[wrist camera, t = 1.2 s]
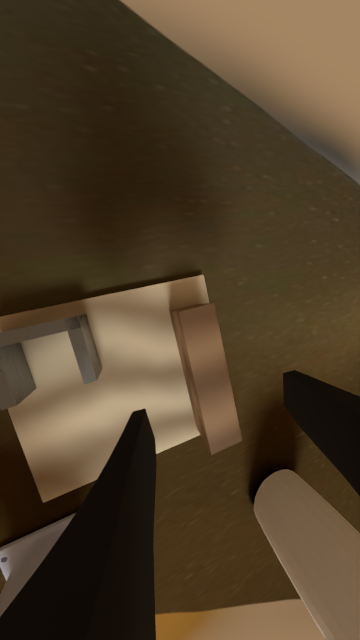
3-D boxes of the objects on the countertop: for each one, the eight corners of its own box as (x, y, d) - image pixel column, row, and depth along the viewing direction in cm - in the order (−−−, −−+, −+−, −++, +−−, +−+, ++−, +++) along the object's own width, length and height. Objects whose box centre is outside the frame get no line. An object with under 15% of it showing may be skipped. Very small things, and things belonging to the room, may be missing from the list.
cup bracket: (102, 368, 18) (96, 380, 15) (24, 392, 16) (1, 410, 13) (86, 314, 17) (77, 315, 14) (2, 332, 16) (-27, 338, 13)
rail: (222, 417, 22) (242, 440, 18) (196, 428, 21) (211, 454, 17) (198, 303, 20) (214, 302, 16) (169, 311, 19) (178, 311, 15)
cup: (291, 450, 26) (467, 606, 13) (299, 500, 27) (468, 694, 14) (241, 475, 24) (384, 694, 11) (250, 528, 25) (392, 789, 12)
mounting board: (230, 416, 23) (233, 420, 22) (46, 494, 18) (43, 502, 17) (200, 275, 21) (203, 274, 20) (-18, 321, 16) (-26, 321, 15)
